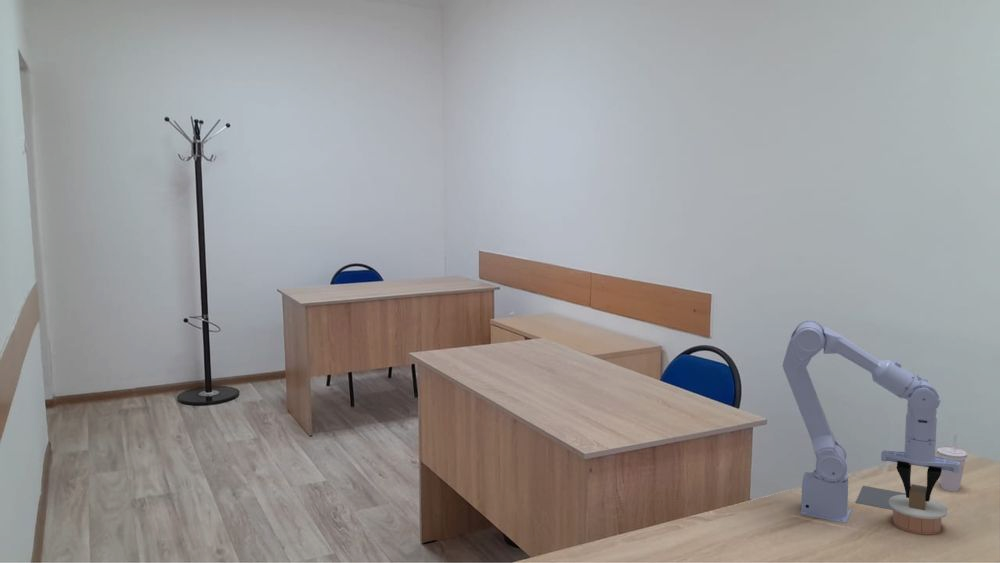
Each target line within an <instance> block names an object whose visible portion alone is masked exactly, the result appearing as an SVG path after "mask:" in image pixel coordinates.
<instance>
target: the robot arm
mask: <svg viewBox="0 0 1000 563" xmlns="http://www.w3.org/2000/svg"><path fill="white" fill-rule="evenodd" d="M821 350H823V355H828V354H831V355H833V354H834V355H835V354H837V355H840V357H843V358H844V359H847V360H848V361H850V362H852V363H853V364H855V365H857V366H859V367H860V368H862V369H864V370H865V371H867V372H869V373H871V378H872V381H873V383H875V384H877V385H879V386H880V387H882V388H883V389H885V390H887V391H888V392H890V393H892V395H895V396H896V397H898V398H900V399H905V400H906V401H907V409H906V410H907V411H906V415H905V433H904V434H905V436H904V451H899V450H898V451H896V450H895V451H894V450H886V449H882V450H881V454H880V461H881V462H892V463H896V471H897V473H898V474H899V477H900V479H901V481H902V484H903V487H904V491H905V492H904V493H906V498H909V491H910V488H911V484H912V483H911V473H912V466H917V467H918V466H919V467H923V468H927V471H926V487H927V490H926V501H928V502H929V500H930V499H931V494H932V491H933V489H934V487H935V485H936V483H937V482H938V480H939V478H940V475H941V471H942V470H948V471H953V472H954V473H959V463H960V462H958V461H952V460H948V459H944V458H940V457H938V456H936V446H937V445H936V443H937V442H936V441H937V422H938V420H937V411H938V410H937V409H938V408H939V407H940V404H941V400H940V396H939V393H938V391H937V390H936V388H935V386H934V385H933V384H932V383H931V382H929V381H928V380H927V379H925V378H923V377H922V376H921V375H919V374H917V375H915V374H914V373H911V371H908V370H906V369H905V367H902V363H901V362H899V361H898V360H894V361H893V360H891V359H883V360H882V359H881V360H879V359H878V358H876V356H873V354H872V355H871V354H870V353H869V352H867V351H866V350H864V349H863V348H861V347H859V346H858V345H856V343H853V342H852V341H851V340H849V339H848V338H846V337H845V336H843V335H841V334H839V333H838V332H836V331H834V330H833V329H831V328H829V327H826V326H823V325H821V324H820V323H819V322H817V321H815V320H805V321H802V322H800V323H799V324H798V325H797V326H796V327H795V329H794V330H793V332H792V333H791V335H790V337H789V341H788V345H787V348H786V352H785V354H784V357H783V362H782V368H783V371H784V374H785V376H786V377H785V378H786V379H787V381H788V384H789V387H790V389H791V392H792V394H793V397H794V400H795V402H796V405H797V407H798V410H799V412H800V414H801V417H802V419H803V422H804V425H805V427H806V430H807V433H808V434H809V437H810V438H809V439H810V441H811V444H812V448H813V452H814V455H815V458H816V461H815V469H813V472H812V471H810V472H809V471H804V474H803V477H802V481H801V502H800V503H801V505H800V506H801V508H800V510H801V511H800V514H801V515H804V516H808V517H814V518H817V519H824V520H828V521H833V522H836V523H842V524H847V522H848V520H849V518H850V516H851V514H852V508H848V502H849V501H848V499H849V475H848V474H847V473H848V465H847V452H846V450H845V449H844V448H843V446H842V445H841V444H839V442H838V441H837V439H836V437H835V434H834V433H833V432H832V429H831V427H830V424H829V422H828V420H827V417H826V414H825V412H824V409H823V407H822V404H821V401H820V399H819V397H818V394H817V392H816V389H815V386H814V384H813V382H812V379H811V377H810V376H811V375H810V374H809V371H808V368H807V367H808V366H809V363H810V361H811V360H812V359H813V357H815V356H816V355H818V354H819V353H820V352H821Z"/></svg>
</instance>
